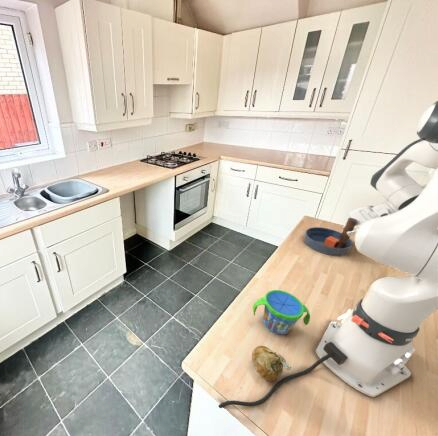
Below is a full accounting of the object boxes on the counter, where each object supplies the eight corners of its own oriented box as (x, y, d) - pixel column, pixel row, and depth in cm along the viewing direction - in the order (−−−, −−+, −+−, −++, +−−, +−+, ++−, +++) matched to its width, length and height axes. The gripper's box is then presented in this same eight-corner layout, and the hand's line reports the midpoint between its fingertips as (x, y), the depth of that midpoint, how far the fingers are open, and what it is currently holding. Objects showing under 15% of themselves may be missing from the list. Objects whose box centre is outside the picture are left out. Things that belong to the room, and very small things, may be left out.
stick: (342, 249, 107) (355, 221, 100) (335, 246, 109) (347, 219, 102) (346, 247, 108) (358, 220, 101) (338, 244, 110) (350, 217, 104)
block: (332, 249, 110) (335, 242, 108) (323, 245, 113) (326, 238, 111) (337, 247, 112) (340, 239, 110) (327, 242, 115) (330, 235, 113)
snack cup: (300, 318, 79) (310, 296, 74) (307, 347, 70) (318, 324, 65) (249, 306, 84) (255, 284, 79) (249, 331, 75) (256, 308, 70)
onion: (271, 354, 68) (278, 336, 65) (286, 385, 61) (295, 367, 58) (245, 355, 68) (250, 337, 65) (257, 386, 61) (263, 368, 58)
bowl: (336, 262, 103) (340, 253, 101) (294, 241, 117) (297, 234, 115) (356, 248, 111) (360, 240, 109) (315, 231, 125) (318, 223, 123)
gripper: (367, 199, 106) (333, 215, 113) (392, 221, 89) (350, 239, 96) (375, 209, 106) (341, 225, 114) (401, 233, 90) (359, 250, 97)
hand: (345, 231), depth 105 cm, fingers closed on stick, 3 cm apart
